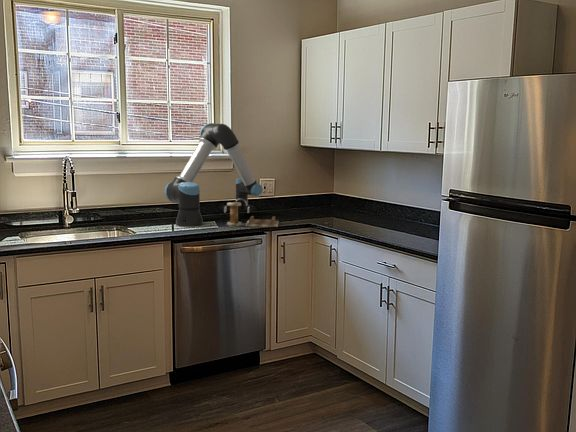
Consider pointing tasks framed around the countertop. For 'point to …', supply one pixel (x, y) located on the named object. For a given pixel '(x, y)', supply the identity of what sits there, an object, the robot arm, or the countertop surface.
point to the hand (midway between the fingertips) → (236, 210)
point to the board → (262, 222)
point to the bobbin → (233, 214)
